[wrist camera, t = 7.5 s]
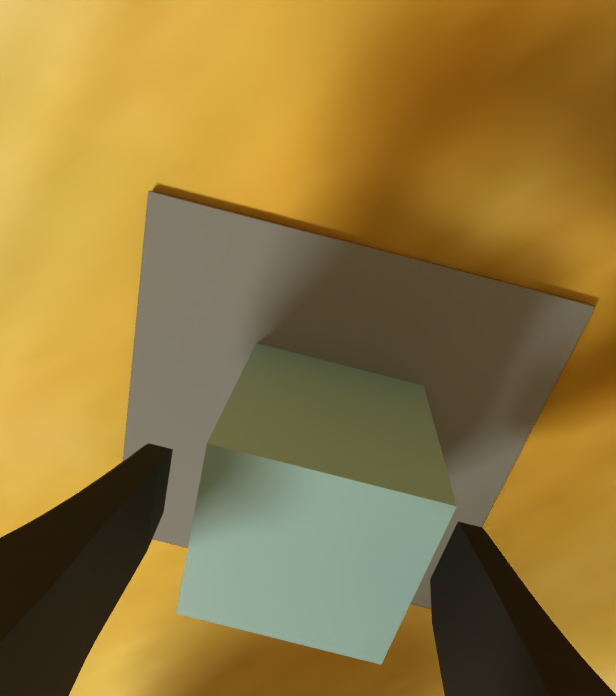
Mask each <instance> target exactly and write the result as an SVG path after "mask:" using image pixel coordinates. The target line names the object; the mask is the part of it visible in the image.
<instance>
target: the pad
mask: <svg viewBox="0 0 616 696" xmlns="http://www.w3.org/2000/svg"><path fill="white" fill-rule="evenodd" d="M594 308H595V307H594V306H593V305H591V304H587V303H583V302H579V301H575V300H572V299H568V298H564V297H560V296H556V295H552V294H548V293H545V292H541V291H537V290H533V289H529V288H525V287H521V286H518V285H514V284H510V283H506V282H502V281H498V280H494V279H491V278H487V277H483V276H479V275H475V274H471V273H467V272H464V271H460V270H456V269H452V268H448V267H444V266H440V265H436V264H433V263H429V262H425V261H421V260H417V259H413V258H409V257H406V256H402V255H398V254H394V253H390V252H386V251H382V250H379V249H375V248H371V247H367V246H363V245H359V244H355V243H352V242H348V241H344V240H340V239H336V238H332V237H328V236H324V235H321V234H317V233H313V232H309V231H305V230H301V229H297V228H294V227H290V226H286V225H282V224H278V223H274V222H270V221H267V220H263V219H259V218H255V217H251V216H247V215H243V214H240V213H236V212H232V211H228V210H224V209H220V208H216V207H213V206H209V205H205V204H201V203H197V202H193V201H189V200H185V199H182V198H178V197H174V196H170V195H166V194H162V193H158V192H155V191H148V200H147V210H146V221H145V232H144V242H143V253H142V263H141V274H140V285H139V295H138V306H137V317H136V327H135V338H134V348H133V359H132V370H131V380H130V391H129V402H128V412H127V423H126V434H125V444H124V455H123V461H124V460H126V459H127V458H128V457H130V456H131V455H132V454H134V453H135V452H136V451H138V450H139V449H140V448H142V447H143V446H144V445H146V444H148V443H150V444H154V445H158V446H162V447H166V448H170V449H173V452H172V459H171V466H170V473H169V479H168V486H167V493H166V500H165V506H164V513H163V515H162V517H161V520H160V522H159V524H158V527H157V529H156V531H155V534H154V536H153V538H152V539H154V540H158V541H162V542H166V543H170V544H174V545H178V546H182V547H186V548H188V545H189V540H190V534H191V528H192V523H193V517H194V512H195V506H196V501H197V495H198V490H199V484H200V479H201V473H202V468H203V462H204V457H205V451H206V446H207V442H208V440H209V438H210V436H211V434H212V432H213V430H214V428H215V426H216V424H217V422H218V420H219V418H220V416H221V413H222V411H223V409H224V407H225V405H226V403H227V401H228V399H229V397H230V395H231V393H232V391H233V389H234V387H235V385H236V383H237V381H238V379H239V377H240V375H241V373H242V371H243V369H244V367H245V365H246V363H247V361H248V359H249V357H250V355H251V352H252V350H253V348H254V346H255V344H256V343H259V344H262V345H266V346H270V347H274V348H278V349H282V350H286V351H290V352H294V353H298V354H301V355H305V356H309V357H313V358H317V359H321V360H325V361H329V362H333V363H337V364H341V365H344V366H348V367H352V368H356V369H360V370H364V371H368V372H372V373H376V374H380V375H383V376H387V377H391V378H395V379H399V380H403V381H407V382H411V383H415V384H419V385H422V386H424V388H425V392H426V396H427V399H428V403H429V407H430V410H431V414H432V418H433V421H434V425H435V429H436V432H437V436H438V440H439V443H440V447H441V451H442V454H443V458H444V462H445V465H446V469H447V473H448V476H449V480H450V483H451V487H452V491H453V494H454V498H455V502H456V505H457V507H456V509H455V511H454V513H453V515H452V518H451V520H450V522H449V524H448V526H447V528H446V530H445V532H444V534H443V536H442V539H441V541H440V543H439V545H438V547H437V549H436V551H435V553H434V555H433V557H432V560H431V562H430V564H429V566H428V568H427V570H426V572H425V574H424V576H423V578H422V581H421V583H420V585H419V587H418V589H417V591H416V593H415V595H414V597H413V599H412V602H411V604H413V605H417V606H421V607H425V608H429V609H431V590H430V579H431V576H432V574H433V572H434V570H435V568H436V566H437V564H438V562H439V560H440V558H441V556H442V554H443V552H444V550H445V547H446V545H447V543H448V541H449V539H450V537H451V535H452V533H453V531H454V529H455V527H456V525H457V523H458V522H462V523H466V524H470V525H474V526H478V527H482V525H483V523H484V521H485V519H486V518H487V516H488V514H489V512H490V510H491V508H492V506H493V504H494V502H495V500H496V498H497V496H498V494H499V492H500V490H501V488H502V487H503V485H504V483H505V481H506V479H507V477H508V475H509V473H510V471H511V469H512V467H513V465H514V463H515V461H516V459H517V457H518V456H519V454H520V452H521V450H522V448H523V446H524V444H525V442H526V440H527V438H528V436H529V434H530V432H531V430H532V428H533V426H534V425H535V423H536V421H537V419H538V417H539V415H540V413H541V411H542V409H543V407H544V405H545V403H546V401H547V399H548V397H549V395H550V394H551V392H552V390H553V388H554V386H555V384H556V382H557V380H558V378H559V376H560V374H561V372H562V370H563V368H564V366H565V364H566V363H567V361H568V359H569V357H570V355H571V353H572V351H573V349H574V347H575V345H576V343H577V341H578V339H579V337H580V335H581V333H582V332H583V330H584V328H585V326H586V324H587V322H588V320H589V318H590V316H591V314H592V312H593V310H594Z"/></svg>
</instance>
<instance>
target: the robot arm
mask: <svg viewBox="0 0 616 696" xmlns="http://www.w3.org/2000/svg"><path fill="white" fill-rule="evenodd" d="M172 452H173V449H170V448H166V447H162V446H158V445H154V444H150V443H148V444H146V445H144V446H143V447H142V448H140V449H139V450H138V451H136V452H135V453H134V454H132V455H131V456H130V457H128V458H127V459H126V460H124V461H123V462H122V463H120V464H119V465H118V466H116V467H115V468H113V469H112V470H111V471H109V472H108V473H106V474H105V475H104V476H102V477H101V478H99V479H98V480H96V481H95V482H93V483H92V484H90V485H89V486H87V487H86V488H85V489H83V490H82V491H80V492H79V493H77V494H76V495H74V496H72V497H71V498H69V499H68V500H66V501H64V502H63V503H61V504H59V505H58V506H56V507H55V508H53V509H51V510H50V511H48V512H46V513H45V514H43V515H41V516H40V517H38V518H36V519H34V520H33V521H31V522H29V523H27V524H26V525H24V526H22V527H20V528H18V529H16V530H14V531H13V532H11V533H9V534H7V535H5V536H3V537H1V538H0V696H69V694H70V691H71V689H72V687H73V685H74V683H75V681H76V679H77V676H78V674H79V672H80V670H81V668H82V666H83V664H84V662H85V659H86V658H87V656H88V654H89V652H90V650H91V648H92V646H93V644H94V642H95V641H96V639H97V637H98V635H99V633H100V632H101V630H102V628H103V626H104V625H105V623H106V621H107V620H108V618H109V616H110V614H111V613H112V611H113V609H114V607H115V606H116V604H117V602H118V601H119V599H120V597H121V595H122V594H123V592H124V590H125V588H126V587H127V585H128V583H129V581H130V580H131V578H132V576H133V574H134V573H135V571H136V569H137V567H138V566H139V564H140V562H141V560H142V559H143V557H144V555H145V553H146V552H147V550H148V547H149V545H150V543H151V541H152V538H153V536H154V534H155V531H156V529H157V527H158V524H159V522H160V520H161V517H162V515H163V513H164V506H165V500H166V493H167V486H168V479H169V473H170V466H171V459H172ZM430 590H431V610H432V624H433V630H434V636H435V642H436V648H437V654H438V659H439V665H440V671H441V676H442V682H443V688H444V693H445V696H616V694H615V693H614V692H613V691H612V690H611V689H610V688H609V687H608V686H607V685H606V683H605V682H604V681H603V680H602V679H601V678H600V677H599V676H598V675H597V674H596V673H595V672H594V670H593V669H592V668H591V667H590V666H589V665H588V664H587V662H586V661H585V660H584V659H583V658H582V657H581V656H580V654H579V653H578V652H577V651H576V650H575V648H574V647H573V646H572V645H571V644H570V642H569V641H568V640H567V639H566V638H565V636H564V635H563V634H562V633H561V631H560V630H559V629H558V628H557V627H556V625H555V624H554V623H553V622H552V620H551V619H550V618H549V616H548V615H547V614H546V613H545V611H544V610H543V609H542V607H541V606H540V605H539V604H538V602H537V601H536V600H535V598H534V597H533V596H532V594H531V593H530V592H529V590H528V589H527V588H526V586H525V585H524V584H523V582H522V581H521V579H520V578H519V577H518V575H517V574H516V573H515V571H514V570H513V568H512V567H511V566H510V564H509V563H508V562H507V560H506V559H505V557H504V556H503V555H502V553H501V552H500V551H499V549H498V548H497V546H496V545H495V544H494V542H493V541H492V540H491V538H490V537H489V536H488V534H487V533H486V532H485V530H484V529H483V528H482V527H478V526H474V525H470V524H466V523H462V522H458V523H457V525H456V527H455V529H454V531H453V533H452V535H451V537H450V539H449V541H448V543H447V545H446V547H445V550H444V552H443V554H442V556H441V558H440V560H439V562H438V564H437V566H436V568H435V570H434V572H433V574H432V576H431V579H430Z"/></svg>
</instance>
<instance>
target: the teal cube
mask: <svg viewBox="0 0 616 696" xmlns="http://www.w3.org/2000/svg"><path fill="white" fill-rule="evenodd" d="M456 507H457V505H456V502H455V498H454V494H453V491H452V487H451V483H450V480H449V476H448V473H447V469H446V465H445V462H444V458H443V454H442V451H441V447H440V443H439V440H438V436H437V432H436V429H435V425H434V421H433V418H432V414H431V410H430V407H429V403H428V399H427V396H426V392H425V388H424V386H422V385H419V384H415V383H411V382H407V381H403V380H399V379H395V378H391V377H387V376H383V375H380V374H376V373H372V372H368V371H364V370H360V369H356V368H352V367H348V366H344V365H341V364H337V363H333V362H329V361H325V360H321V359H317V358H313V357H309V356H305V355H301V354H298V353H294V352H290V351H286V350H282V349H278V348H274V347H270V346H266V345H262V344H259V343H256V344H255V346H254V348H253V350H252V352H251V355H250V357H249V359H248V361H247V363H246V365H245V367H244V369H243V371H242V373H241V375H240V377H239V379H238V381H237V383H236V385H235V387H234V389H233V391H232V393H231V395H230V397H229V399H228V401H227V403H226V405H225V407H224V409H223V411H222V413H221V416H220V418H219V420H218V422H217V424H216V426H215V428H214V430H213V432H212V434H211V436H210V438H209V440H208V442H207V446H206V451H205V457H204V462H203V468H202V473H201V479H200V484H199V490H198V495H197V501H196V506H195V512H194V517H193V523H192V528H191V534H190V540H189V545H188V551H187V556H186V562H185V567H184V573H183V578H182V584H181V589H180V595H179V600H178V606H177V611H176V614H180V615H184V616H188V617H192V618H196V619H200V620H204V621H208V622H212V623H216V624H220V625H224V626H228V627H232V628H236V629H240V630H244V631H248V632H252V633H256V634H260V635H264V636H268V637H272V638H276V639H280V640H284V641H288V642H292V643H296V644H300V645H304V646H308V647H312V648H316V649H320V650H324V651H328V652H332V653H336V654H340V655H344V656H348V657H352V658H356V659H360V660H364V661H368V662H372V663H376V664H380V665H382V662H383V660H384V658H385V656H386V654H387V652H388V650H389V648H390V646H391V644H392V641H393V639H394V637H395V635H396V633H397V631H398V629H399V627H400V625H401V623H402V620H403V618H404V616H405V614H406V612H407V610H408V608H409V606H410V604H411V602H412V599H413V597H414V595H415V593H416V591H417V589H418V587H419V585H420V583H421V581H422V578H423V576H424V574H425V572H426V570H427V568H428V566H429V564H430V562H431V560H432V557H433V555H434V553H435V551H436V549H437V547H438V545H439V543H440V541H441V539H442V536H443V534H444V532H445V530H446V528H447V526H448V524H449V522H450V520H451V518H452V515H453V513H454V511H455V509H456Z"/></svg>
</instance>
